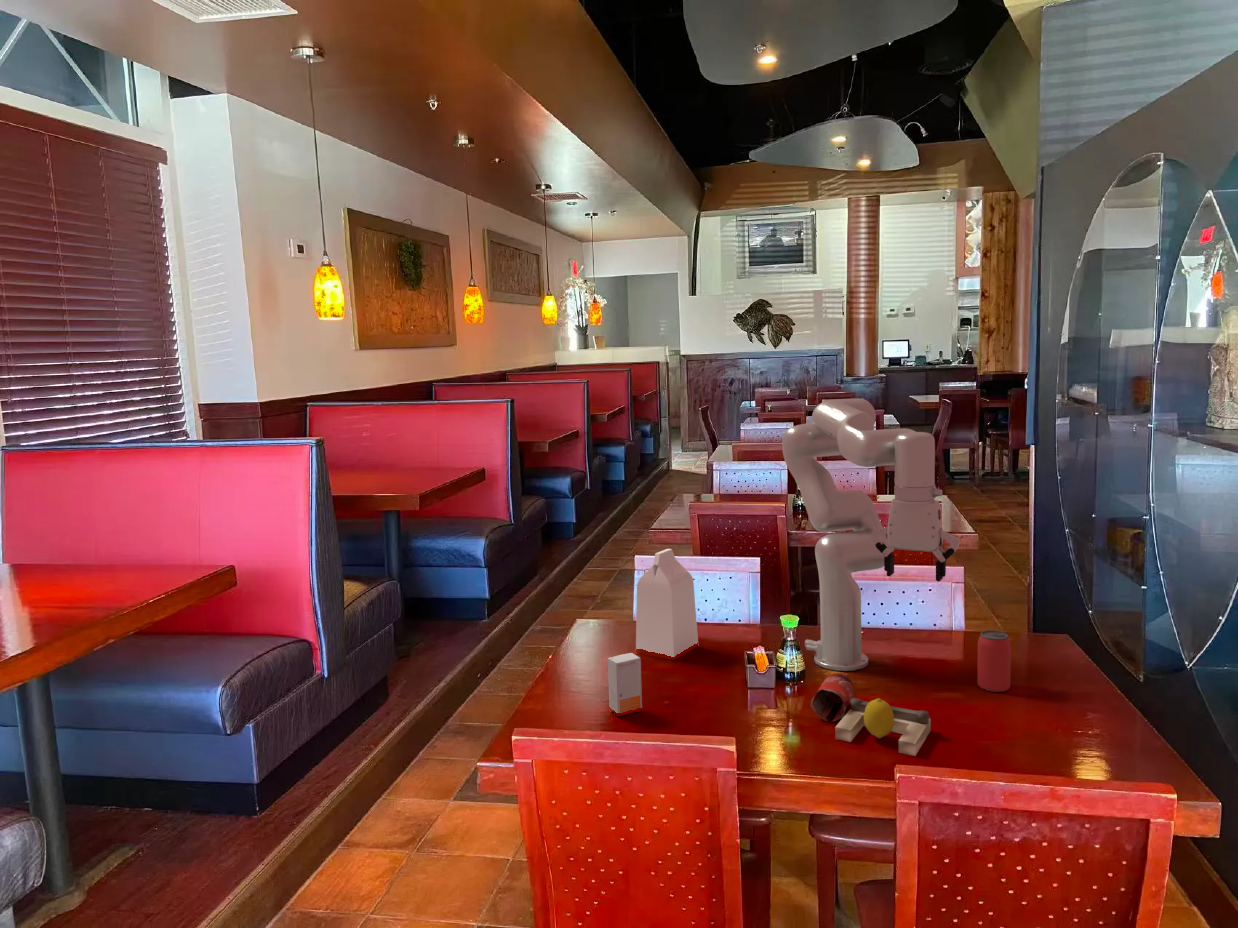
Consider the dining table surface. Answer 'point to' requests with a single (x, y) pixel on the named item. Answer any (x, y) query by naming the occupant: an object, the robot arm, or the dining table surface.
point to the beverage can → (833, 695)
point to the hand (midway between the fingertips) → (914, 577)
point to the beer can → (994, 661)
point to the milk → (666, 607)
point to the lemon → (879, 718)
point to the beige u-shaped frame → (905, 723)
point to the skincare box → (624, 682)
